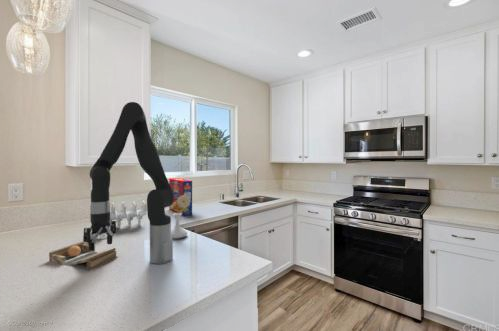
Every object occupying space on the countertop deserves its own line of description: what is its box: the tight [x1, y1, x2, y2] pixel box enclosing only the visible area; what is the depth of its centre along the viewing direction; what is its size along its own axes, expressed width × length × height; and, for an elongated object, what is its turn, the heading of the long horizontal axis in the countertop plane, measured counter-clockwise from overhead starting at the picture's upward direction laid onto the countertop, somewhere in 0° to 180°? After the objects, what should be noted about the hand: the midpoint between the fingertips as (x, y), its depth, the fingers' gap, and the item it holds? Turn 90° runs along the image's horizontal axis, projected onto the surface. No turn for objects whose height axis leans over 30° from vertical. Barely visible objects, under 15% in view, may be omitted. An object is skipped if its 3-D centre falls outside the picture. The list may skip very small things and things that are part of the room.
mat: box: [62, 250, 119, 272], centre depth 114 cm, size 25×15×1 cm, turn 69°
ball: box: [68, 246, 81, 257], centre depth 116 cm, size 5×5×5 cm
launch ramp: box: [71, 247, 117, 270], centre depth 111 cm, size 14×12×6 cm
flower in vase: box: [171, 195, 190, 239], centre depth 146 cm, size 13×11×25 cm
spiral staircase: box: [109, 200, 147, 229], centre depth 163 cm, size 18×18×25 cm
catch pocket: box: [48, 241, 96, 265], centre depth 116 cm, size 9×15×4 cm, turn 160°
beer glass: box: [96, 233, 108, 240], centre depth 143 cm, size 7×7×15 cm
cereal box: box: [168, 177, 193, 217], centre depth 208 cm, size 28×8×28 cm, turn 40°
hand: (101, 247), depth 109 cm, fingers open, 8 cm apart
